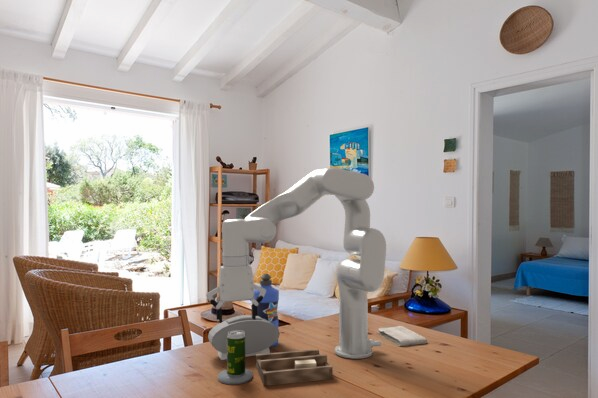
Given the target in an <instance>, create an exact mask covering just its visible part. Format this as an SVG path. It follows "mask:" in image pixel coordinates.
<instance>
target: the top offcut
mask: <svg viewBox="0 0 598 398" xmlns="http://www.w3.org/2000/svg"><path fill="white" fill-rule="evenodd" d="M308 367H316V361H315V359H314V360H295V369H298V368H308Z"/></svg>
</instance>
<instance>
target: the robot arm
mask: <svg viewBox="0 0 598 398" xmlns="http://www.w3.org/2000/svg"><path fill="white" fill-rule="evenodd" d="M374 190H375V184H374V180H372V178H371V177H370V176H369V175H367V174H366V173H361V172H357V171H352V170H347V169H343V168H337V167H325V168H318V169H314V170H312V171H311V172H310V173H308V174H306V175H305V176H304V177H302V178H301V179H300V180H299V181H298V182H296V183H295V184H294V185H293V186H291V187H290V188H288V189H287V190H286V191H285V192H283V193H280V194H278V195H277V196H276V197H274V198H273V199H270V200H269V201H267V202H265V203H263V204H262V205H261V206H259V207H258V208H256V209H255V210H253V211H252V212H251V213H249V214H248V215H247V216H246V217H245V218H244V219H243V218H232V219H230V218H228V219H225V220H223V222H222V224H221V226H222V227H221V233H222V234H221V239H222V240H221V243H222V246H221V247H222V266H221V265H220V268H219V275H218V286H216V287H215V288H213V289H212V290H210V291H208V292H206V295H205V296H206V297H207V300H208V301H209V303H210V305H212V306H213V307H214V308H215V309H216V311H215V312H216V320H218V322H219V323H222V322H223V308H222V306H223V305H224V303H229V302H230V303H231V302H242V301H243V302H245V301H250V302H251V304H250V306H251V315H252V319H253V320H256V316H257V315H258V314H257V306H258V304H259V303H260V302H261V301H262V300H263V297H264V295H265V293H266V289H264V288H262V287H260V286H261V285H257V284H255V283H254V274H253V267H252V265H251V264H250V263H251V262H254V261H255V256H250V255H249V253H250V249H249V243H255V244H256V243H257V244H265V243H269V242H271V241H272V240H273V239H274V238H275V237H276V235H277V226H276V224H277V223H279V222H281V221H284V220H287V219H290V218H294V217H297V216H299V215H301V214H303V213H304V212H305V211H307V210H308V209H309V208H311V206H313V205H314V204H315V203H316V202H317V201H319V200H320V199H322V198H323V197H324V196H328V195H330V196H332V195H334V196H335V198H336V199H337V200H338V201H339V202H340V204H341V205H342V206H343V207H342V208H343V209H344V215H345V216H344V218H345V219H344V227H343V228H344V230H343V242H342V243H343V245H342V246H343V248H344V250H345V252H346V253H348V254H350V255H354V256H359V257H360V259H359V258H358V259H356V258H346V259H344V260H342V261H341V262H340V263H339V264H338V266H337V269H336V281H337V286H338V295H339V296H338V298H339V299H338V300H339V304H338V305H339V306H338V307H339V309H338V310H339V312H338V313H339V318H338V320H339V321H338V325H339V340H338V341H339V344H338V345H336V346H335V348H334V353H335V355H337V356H339V357H342V358H346V359H355V360H356V359H358V360H359V359H366V358H370V356H372V355H373V349H372V348H373V347H381V346H382V341H381V340H380V339H379V340H375V339H374V338H373V339H370V338H369V334H368V332H369V331H368V327H369V326H368V325H369V323H368V321H369V319H368V318H369V317H368V315H369V314H368V312H369V311H368V309H369V308H368V307H369V306H368V305H369V301H368V295H367V293H368V292H369V293H373V292H375V291H377V290H378V289H380V288H381V286H382V284H383V283H384V282H383V281H384V278H385V272H386V271H385V268H386V256H387V240H386V238H385V236H384V234H383V233H382V232H381V231H380V230H379V229H376V228H373V227H371V210H370V206H369V204H368V201H367V200H368V199H369V198H371V197H372V195H373V193H374ZM254 290H257V291H260V295H259V296H258V297H257V298H256V299H255V298H254ZM216 294H218V298H219V299H218V300H217V301H216V300H215V298H214V297H213V296H214V295H216Z"/></svg>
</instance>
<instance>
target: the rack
mask: <svg viewBox="0 0 598 398" xmlns="http://www.w3.org/2000/svg"><path fill="white" fill-rule="evenodd" d="M314 359H315V361H316V367H308V368H298V369H295V360H314ZM255 369H256V370H257V373H258V375H259V377H260V381H261V382H262V385H263V387H265V386H267V387H268V386H276V385H285V384H296V383H305V382H313V381H323V380H331V379H332V380H333V365H331V364H329V363H328V355H327V354H321V353H320V349H319V348H316V349H315V348H313V349H304V350H291V351H280V352H270V353H267V354H256V355H255Z"/></svg>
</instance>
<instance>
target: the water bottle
mask: <svg viewBox="0 0 598 398" xmlns="http://www.w3.org/2000/svg"><path fill="white" fill-rule="evenodd" d="M271 278H272V276H271V275H270V274H269V273H263V274H262V275H261V276H260V279H261V280H259V283H260V284H259V286H260V287H262V288H264V289H266V293H265V295H264V297H263V300H262V301H261V302H260V303H259V304H258V306H257V314H258V315H257V316H259V317H261V318H263V319H266V320H268V321H270V322H271V323H272V324H274V325H275V326H276V327H277V328H278V329H279V315H278V305H279V300H280V296H279V295H280V292H279V291H280V290H279V289H276V288H275V287H273V286H272V285H273V280H272V279H271ZM259 295H260V291H257V290H255V289H254V298H255V299H256V298H257V297H258V296H259ZM278 345H279V339H278V340H277V341H276V342H275V343H274V344H273V345H271V346H270V347H269V348H273V347H277V346H278Z"/></svg>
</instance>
